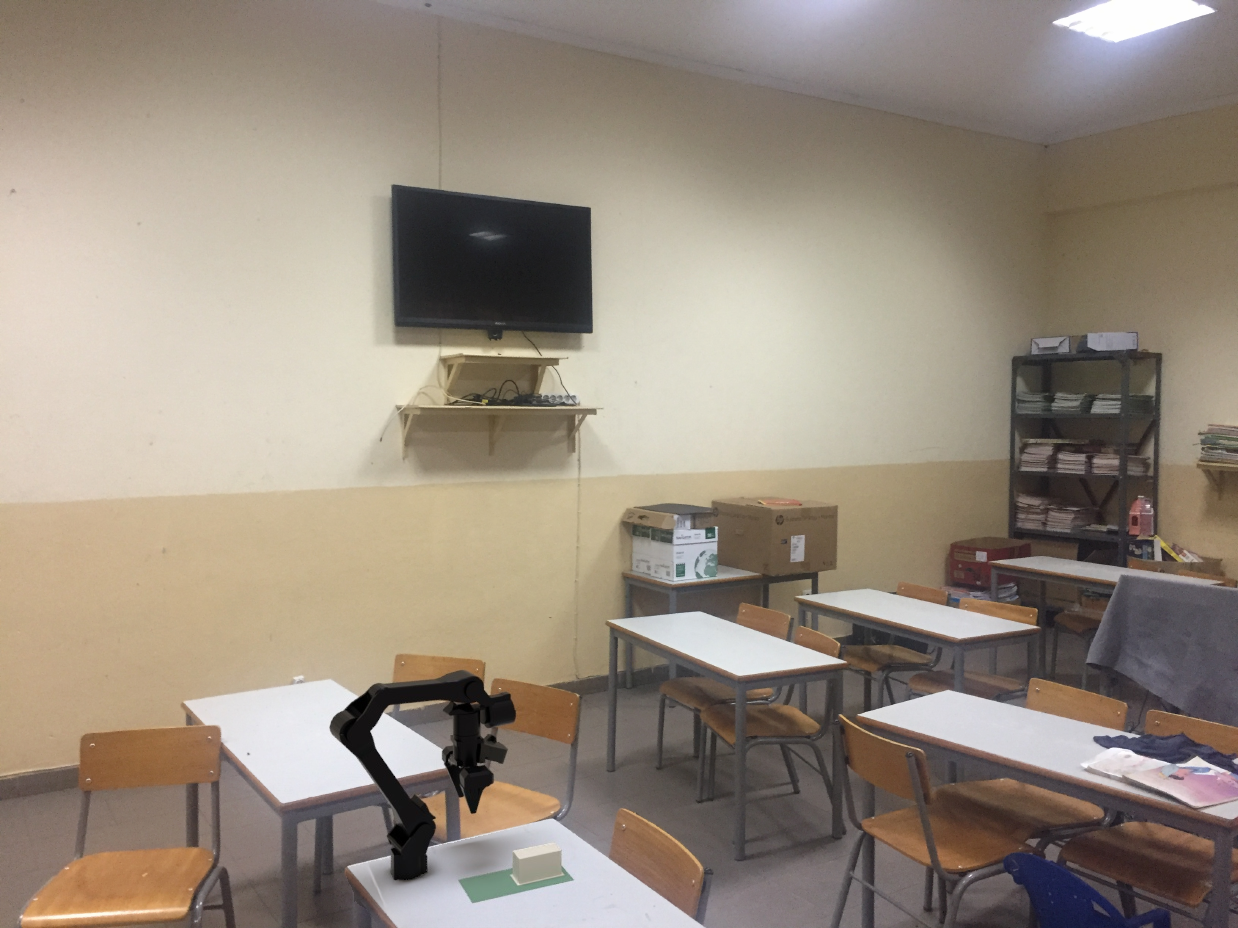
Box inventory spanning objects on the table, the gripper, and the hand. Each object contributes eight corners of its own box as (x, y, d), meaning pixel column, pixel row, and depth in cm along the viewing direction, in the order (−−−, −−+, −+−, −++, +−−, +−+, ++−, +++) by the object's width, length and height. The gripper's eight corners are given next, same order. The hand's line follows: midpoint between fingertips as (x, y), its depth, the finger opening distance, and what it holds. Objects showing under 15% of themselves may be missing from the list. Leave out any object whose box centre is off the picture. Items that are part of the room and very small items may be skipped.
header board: (472, 907, 176) (472, 889, 176) (458, 884, 185) (458, 867, 185) (574, 884, 185) (574, 867, 185) (555, 863, 194) (555, 846, 194)
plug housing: (519, 883, 183) (519, 858, 183) (512, 874, 186) (512, 850, 186) (561, 874, 187) (561, 850, 187) (554, 865, 190) (554, 842, 190)
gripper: (517, 739, 189) (518, 814, 189) (490, 714, 206) (490, 783, 206) (464, 748, 184) (465, 824, 185) (440, 721, 201) (441, 791, 201)
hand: (467, 804), depth 194 cm, fingers open, 9 cm apart
